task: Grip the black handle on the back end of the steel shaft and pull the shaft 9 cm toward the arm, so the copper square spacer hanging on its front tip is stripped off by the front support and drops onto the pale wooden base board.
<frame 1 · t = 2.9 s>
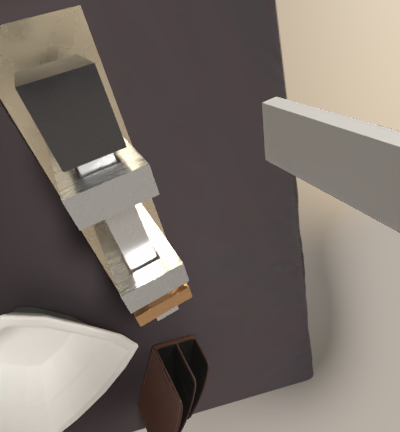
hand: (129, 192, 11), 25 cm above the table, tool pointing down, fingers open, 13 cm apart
bowl: (30, 335, 43), on the table
spacer: (145, 269, 40), point 6 cm above the table, touching shaft
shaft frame: (115, 210, 39), on the table
shaft: (124, 222, 30), point 10 cm above the table, slide at 0.0 cm, touching spacer
letter holder: (164, 368, 66), on the table
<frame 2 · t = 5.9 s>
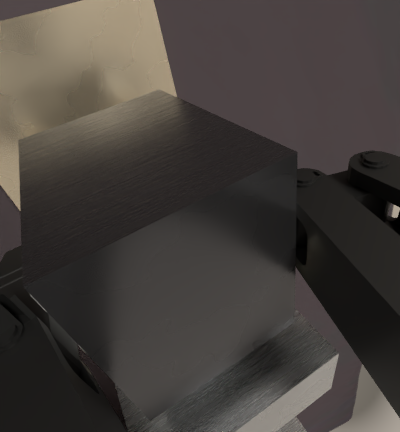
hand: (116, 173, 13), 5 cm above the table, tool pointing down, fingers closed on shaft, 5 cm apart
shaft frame: (169, 303, 26), on the table
shaft: (215, 380, 17), point 9 cm above the table, slide at 0.0 cm, touching gripper, spacer
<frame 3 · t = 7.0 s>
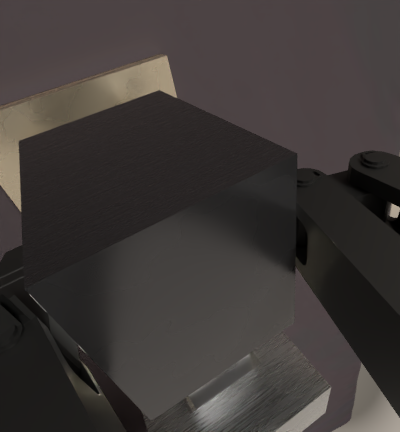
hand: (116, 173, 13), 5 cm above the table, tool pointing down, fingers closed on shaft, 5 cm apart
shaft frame: (177, 320, 28), on the table
shaft: (215, 379, 17), point 10 cm above the table, slide at 2.9 cm, touching gripper, spacer
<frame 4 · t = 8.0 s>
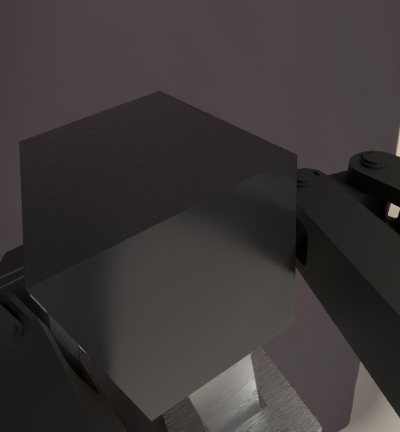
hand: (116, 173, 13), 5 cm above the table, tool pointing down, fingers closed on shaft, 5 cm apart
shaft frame: (189, 346, 31), on the table
shaft: (215, 380, 17), point 10 cm above the table, slide at 8.2 cm, touching gripper
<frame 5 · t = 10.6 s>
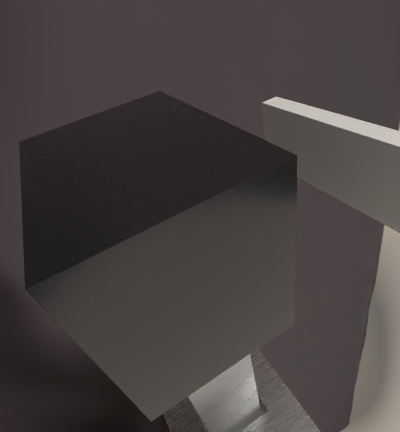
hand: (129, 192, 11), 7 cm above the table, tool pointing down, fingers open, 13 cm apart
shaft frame: (190, 350, 32), on the table
shaft: (215, 380, 17), point 9 cm above the table, slide at 8.9 cm
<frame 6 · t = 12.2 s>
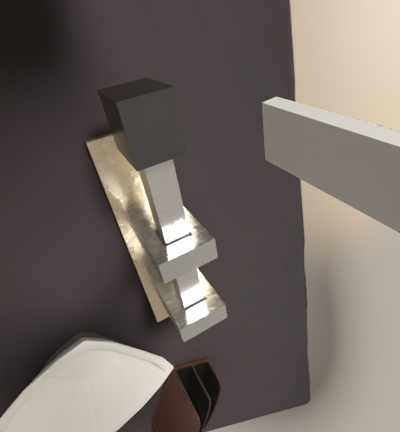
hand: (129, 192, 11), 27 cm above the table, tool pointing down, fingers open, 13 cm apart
bowl: (83, 356, 52), on the table
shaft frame: (163, 255, 49), on the table
shaft: (168, 220, 34), point 9 cm above the table, slide at 8.9 cm
letter holder: (178, 388, 73), on the table
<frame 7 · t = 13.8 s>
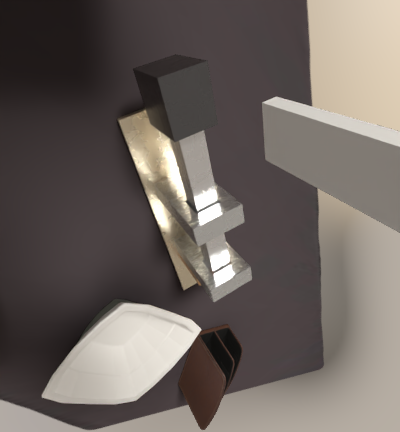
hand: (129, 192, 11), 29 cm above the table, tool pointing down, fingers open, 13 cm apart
bowl: (118, 322, 56), on the table
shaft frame: (187, 226, 52), on the table
shaft: (197, 189, 37), point 9 cm above the table, slide at 8.9 cm
letter holder: (201, 352, 78), on the table
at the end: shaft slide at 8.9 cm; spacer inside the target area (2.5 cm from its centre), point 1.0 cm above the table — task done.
